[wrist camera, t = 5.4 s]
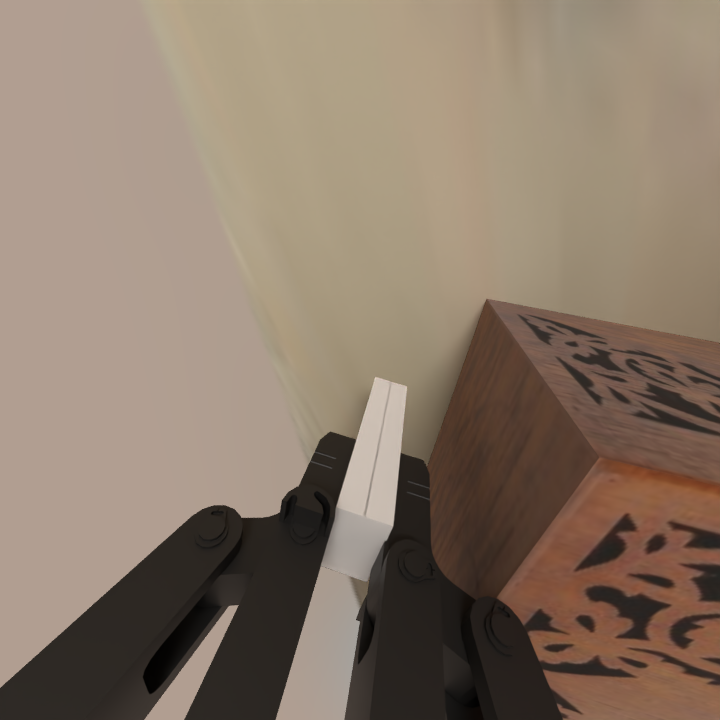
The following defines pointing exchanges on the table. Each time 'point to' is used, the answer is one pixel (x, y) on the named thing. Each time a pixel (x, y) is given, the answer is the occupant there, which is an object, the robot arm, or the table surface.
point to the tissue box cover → (590, 505)
